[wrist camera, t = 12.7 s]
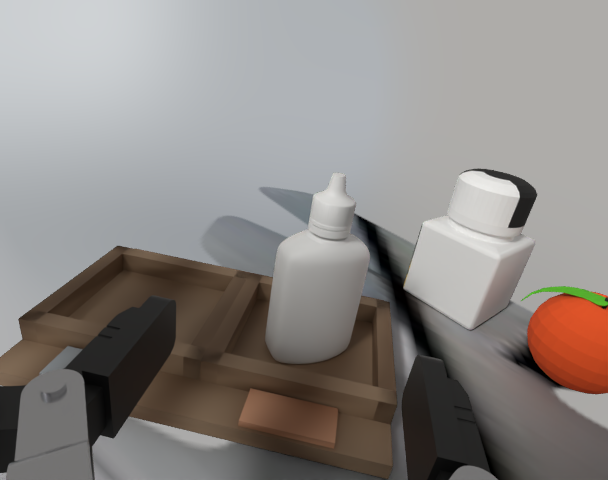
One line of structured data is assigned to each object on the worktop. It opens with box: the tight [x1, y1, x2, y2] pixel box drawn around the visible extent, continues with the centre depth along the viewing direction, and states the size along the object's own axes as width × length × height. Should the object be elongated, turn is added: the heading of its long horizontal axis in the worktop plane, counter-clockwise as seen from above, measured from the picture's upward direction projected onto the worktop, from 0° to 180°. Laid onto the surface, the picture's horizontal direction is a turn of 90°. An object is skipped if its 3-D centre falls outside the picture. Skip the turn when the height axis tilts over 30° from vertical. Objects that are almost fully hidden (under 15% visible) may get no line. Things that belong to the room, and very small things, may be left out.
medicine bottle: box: [404, 169, 537, 330], centre depth 34 cm, size 7×7×12 cm
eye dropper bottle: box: [265, 173, 370, 364], centre depth 24 cm, size 4×6×12 cm
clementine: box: [522, 286, 608, 394], centre depth 28 cm, size 8×7×7 cm
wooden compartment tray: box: [0, 246, 397, 479], centre depth 27 cm, size 22×15×2 cm
